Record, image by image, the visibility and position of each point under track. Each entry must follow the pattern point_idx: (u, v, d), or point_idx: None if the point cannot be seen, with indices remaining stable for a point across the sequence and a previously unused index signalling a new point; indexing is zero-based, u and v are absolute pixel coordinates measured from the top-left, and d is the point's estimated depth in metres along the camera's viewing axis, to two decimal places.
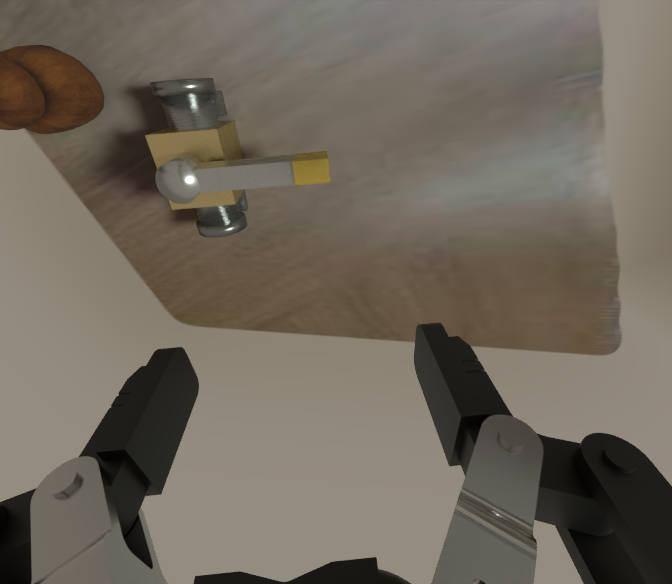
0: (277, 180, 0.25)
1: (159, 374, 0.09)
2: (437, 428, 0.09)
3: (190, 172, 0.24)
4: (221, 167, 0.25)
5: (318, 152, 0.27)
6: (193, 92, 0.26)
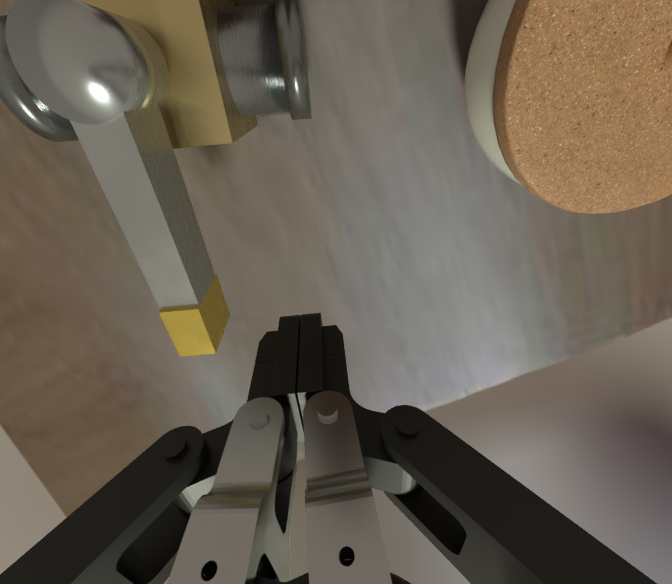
0: (158, 283, 0.14)
1: (294, 336, 0.10)
2: None
3: (115, 111, 0.10)
4: (151, 183, 0.12)
5: (225, 308, 0.18)
6: (288, 95, 0.15)
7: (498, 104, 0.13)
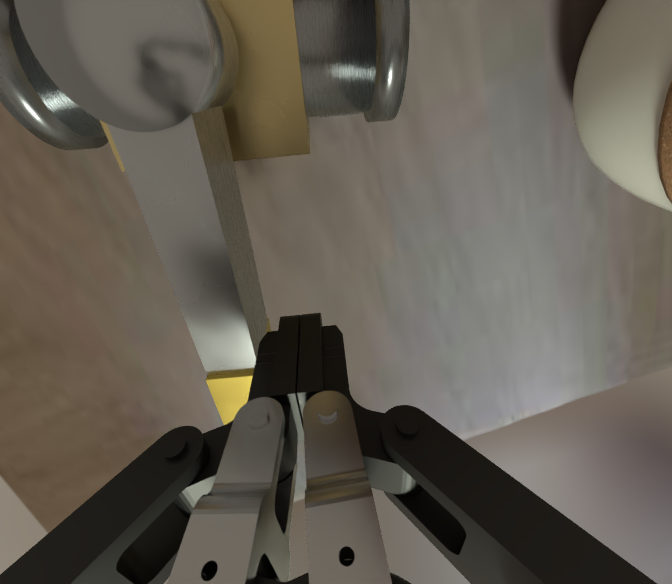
0: (209, 344, 0.10)
1: (294, 336, 0.10)
2: None
3: (180, 113, 0.07)
4: (218, 217, 0.08)
5: None
6: (378, 90, 0.11)
7: None
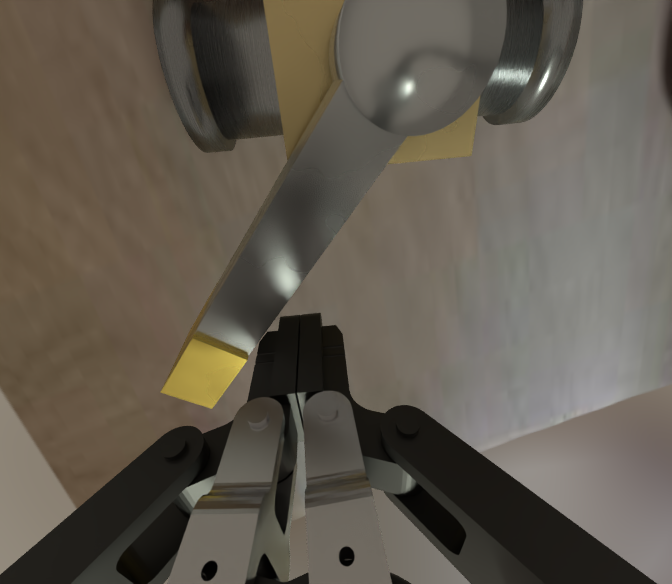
0: (227, 308, 0.09)
1: (294, 336, 0.10)
2: None
3: (406, 130, 0.07)
4: (346, 216, 0.08)
5: None
6: (530, 93, 0.12)
7: None
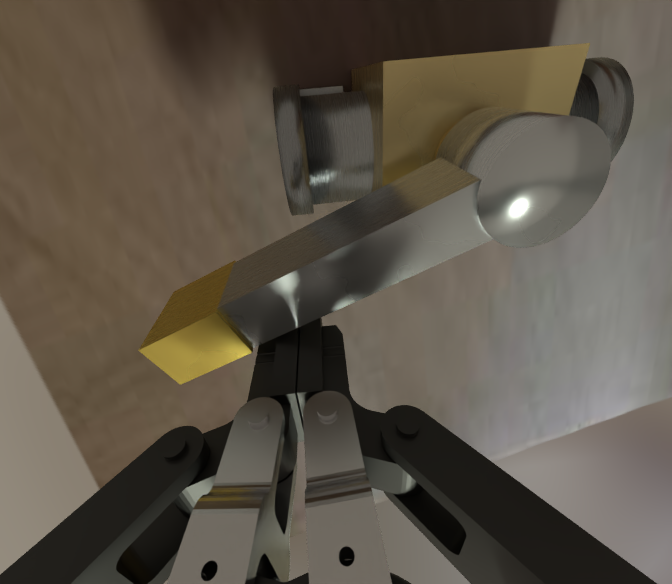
0: (266, 300, 0.09)
1: (294, 336, 0.10)
2: None
3: (497, 236, 0.09)
4: (414, 271, 0.09)
5: None
6: None
7: None
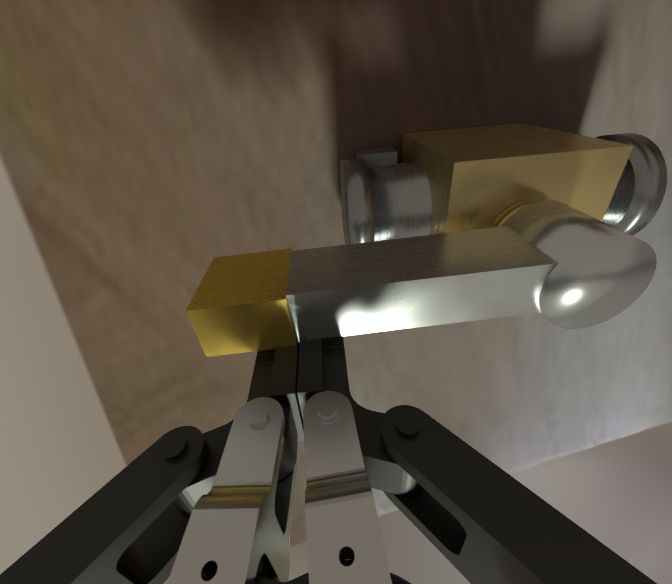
0: (335, 302, 0.09)
1: None
2: None
3: (547, 312, 0.10)
4: (468, 318, 0.10)
5: None
6: None
7: None
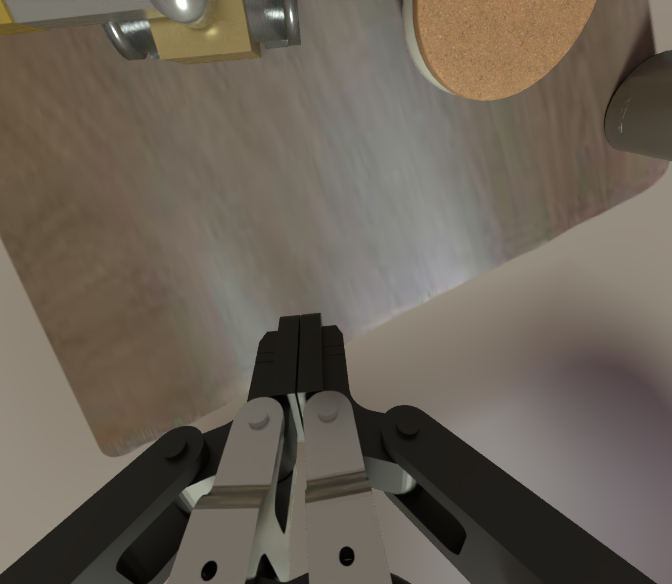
0: None
1: (294, 336, 0.10)
2: None
3: (153, 3, 0.18)
4: (114, 11, 0.18)
5: (12, 33, 0.20)
6: (286, 22, 0.23)
7: (415, 22, 0.21)
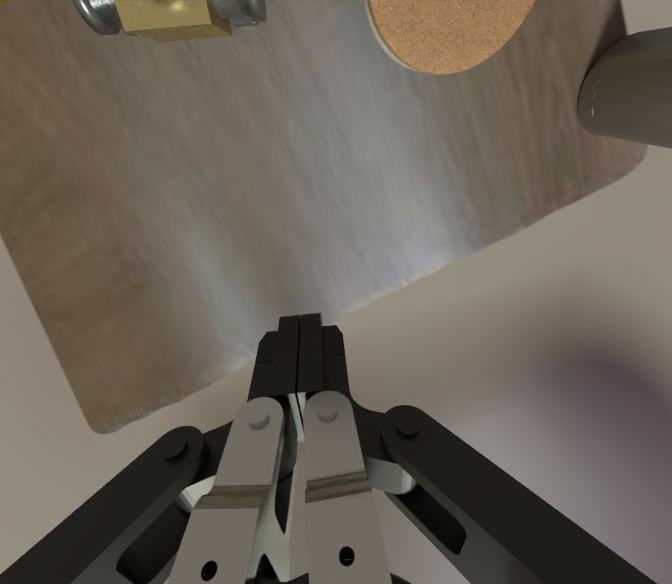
0: None
1: (294, 336, 0.10)
2: None
3: None
4: None
5: None
6: None
7: None
